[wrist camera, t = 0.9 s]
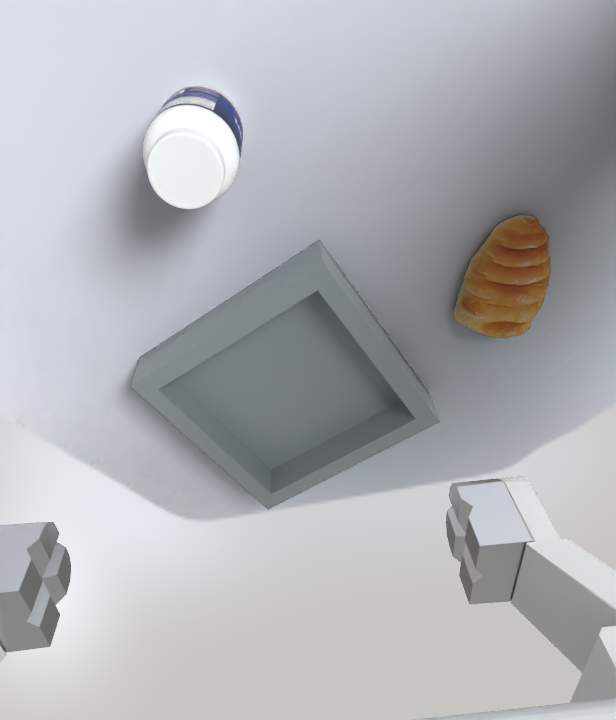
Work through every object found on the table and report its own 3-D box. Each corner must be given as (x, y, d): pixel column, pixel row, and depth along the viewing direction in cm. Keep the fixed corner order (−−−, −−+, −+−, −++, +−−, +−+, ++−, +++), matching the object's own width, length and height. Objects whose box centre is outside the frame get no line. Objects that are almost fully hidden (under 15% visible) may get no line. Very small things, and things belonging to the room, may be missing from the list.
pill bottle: (245, 169, 40) (239, 223, 32) (166, 169, 39) (140, 223, 31) (241, 83, 36) (234, 119, 28) (155, 83, 36) (124, 118, 28)
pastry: (475, 208, 42) (492, 227, 39) (562, 213, 43) (585, 233, 40) (446, 317, 48) (459, 342, 44) (524, 320, 48) (542, 345, 45)
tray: (319, 239, 43) (323, 263, 39) (428, 392, 52) (439, 421, 48) (139, 357, 48) (130, 386, 45) (267, 477, 57) (267, 509, 54)
